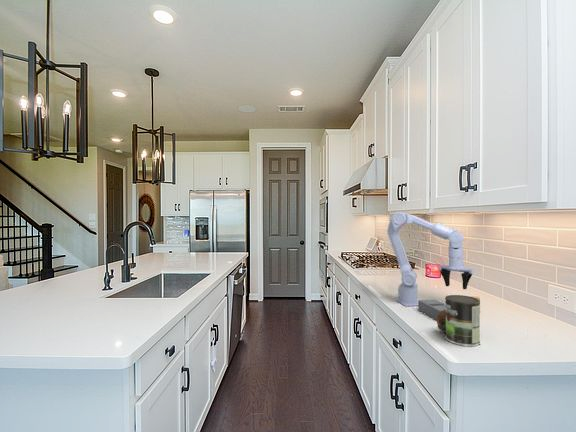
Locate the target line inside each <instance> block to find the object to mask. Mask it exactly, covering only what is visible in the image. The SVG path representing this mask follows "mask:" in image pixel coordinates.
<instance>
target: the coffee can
mask: <svg viewBox="0 0 576 432" xmlns="http://www.w3.org/2000/svg"><path fill="white" fill-rule="evenodd" d="M444 299H445V303H446V333H445V339H446V340H447V342H450V343H451V344H454V345H458V346H460V347H461V346H462V347H469V348H470V347H471V348H473V347H477V346H479V345H481V337H480V335H481V333H480V332H481V331H480V329H481V328H480V327H481V326H480V325H481V321H480V319H481V318H480V313H481V299H480V300H479V299H477V298H474V297H472V296H469V295H462V294H450V295H446V296H445V297H444Z"/></svg>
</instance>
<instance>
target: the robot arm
mask: <svg viewBox="0 0 576 432" xmlns="http://www.w3.org/2000/svg"><path fill="white" fill-rule="evenodd" d="M405 224H407V225H408V224H414V225H417V226H420V227H422V228H425V229H427V230H428V231H429V230H430V232H431V234H432V235H434V236H436V237H438V238H441V239H443V240H448V265H444V264H439V265H438V269H439V270H440V271H439V273H440V275H441V277H442V278H443V281H444V285H445V287H450V286H451V284H450V283H451V281H450V277H451V272H458V273H460V274H461V278H462V290H468V289H467V288H468V284H469V282H470V280H471V277H472V276H473V274H474V273H475V269H474V268H470V267H465V266H464V253H463V252H464V248H463V241H464V239H465V238H464V235H463V234H462V232H460V231H458V230H457V229H455V228H453V227H449V226H447V225H444V223H442V222H440V223H439V222H435V223H433V222H432V223H431V222H430V221H427V220H425V219H422V218H420V217H419V216H416V215H413V214H410V213H405V212H404V211H397V212H394V213H393V214H392V216H391V217H390V219H389V224H388V226H387V231H386V232H387V236H388V238H389V240H390V243H391V247H392V250H393V251H394V254H395V258H396V260H397V263H398V265H399V269H400V274H401V284H399V285H398V288H397V292H398V294H397V296H398V299H396V302H398V303H399V304H401V305H403V306H404V307H416V306H418V300H419V299H418V298H419V297H418V296H419V295H418V283H416V282H417V279H418V278H417V273H416V272H415V271H414V270H413V268H412V266H411V264H410V261H409V259H408V255H407V254H406V253H407V252H406V250H405V248H404V245H403V242H402V240H401V236H400V235H399V231H401V228H402V227H403V226H404V225H405Z"/></svg>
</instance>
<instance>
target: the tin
mask: <svg viewBox="0 0 576 432" xmlns="http://www.w3.org/2000/svg"><path fill="white" fill-rule="evenodd" d="M436 325H437V327H438V329H439V330H440V331H441V332H443V333H445V334H446V309H445V310H442V311H441V312H440V313H439V314H438V316H437V320H436Z"/></svg>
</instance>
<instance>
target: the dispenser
mask: <svg viewBox="0 0 576 432" xmlns="http://www.w3.org/2000/svg"><path fill="white" fill-rule="evenodd" d="M417 309H418V311H420V312H421V313H422V314H424V315H426V316H428V317H430V318H431V317H432V318H431V319H433V320H435V321H437V316H438V314H439V313H440V312H441V311H442V310H445V309H446V302H444V301H441V300H439V299H437V298H434V299H418V308H417Z"/></svg>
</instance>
